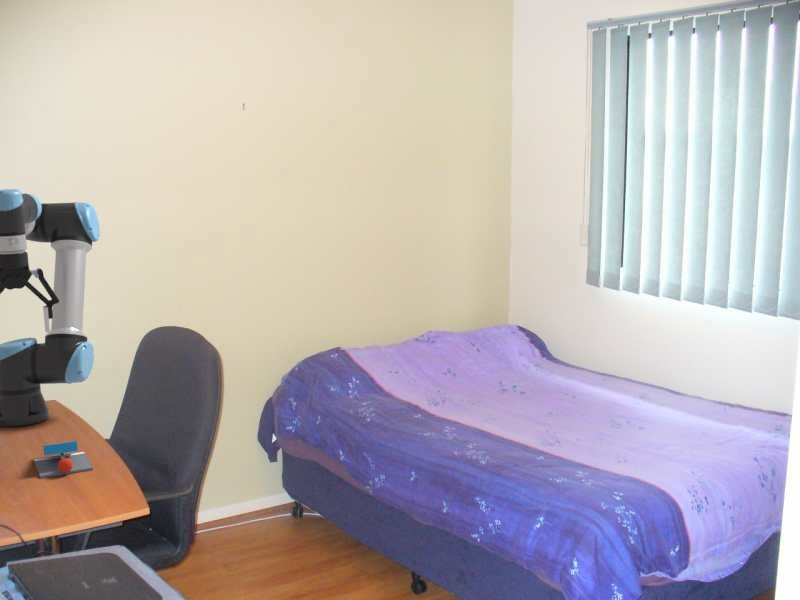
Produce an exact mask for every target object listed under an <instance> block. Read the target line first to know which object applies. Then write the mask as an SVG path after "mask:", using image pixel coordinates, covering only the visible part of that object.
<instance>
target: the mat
mask: <svg viewBox="0 0 800 600" xmlns="http://www.w3.org/2000/svg"><path fill="white" fill-rule="evenodd" d="M64 457H65V458H68V459H70V460H71V461H72V463H73V467H72V469H71V470H70V471H69V472H61V471H60V470H59V469H58V463H59V461H60V460H61V459H62V458H61V455H60V454H59V455H55V456H54V455H53V456H49V457H48V456H47V457H41V458H36V459H33V463H34V465H35V468H36V471H37V473H38V475H39V478H40V479H43V478H52V477H56V476H63V475H70V474H75V473H82V472H89V471H93V470H94V469H93V466H92V464H91V462H90V461H89V459H88V456H87V455H86V453H85V452H84V451H81V452H74V453H73V452H72V453H66V454H64Z"/></svg>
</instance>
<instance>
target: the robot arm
mask: <svg viewBox="0 0 800 600" xmlns="http://www.w3.org/2000/svg"><path fill="white" fill-rule="evenodd" d="M100 231H101V230H100V223H99V219H98V214H97V212H96V210H95V207H94V206H93V205H92V204H91V203H88V202H78V201H75V202H55V203H53V202H51V203H46V202H45V203H42V202H41V201H40V199H39V198H38V197H36V196H35V195H34V194H32V193H22V191H21V190H20V189H16V188H15V189H14V188H10V189H9V188H7V189H5V188H4V189H0V295H1V294H2V293H4V291H5V289H7V290H8V291H9V290H14V289H18V290H19V289H23V288H25V287H26V288H27V289H28V290H30V292H31V293H33V294H34V295H35V296H36V297H37V298H38V299H39V300H41V302H43V304H44V305H43V306H42V311H43V320H44V331H45V333H46V334H45V336H44V343H43V342H42V343H38V340H37V338H35V337H25V338H19V339H14V340H10V341H7V342H3V343H0V427H20V426H22V427H23V426H29V425H34V424H38V423H42V422H44V421H46V420H48V419H49V418H50V409H49V407H48V404H47V402H46V400H45V398H44V396H43V393H42V390H41V389H42V388H41V385H47V384H48V385H50V384H51V385H52V384H55V385H56V384H69V385H70V384H75V383H76V384H77V383H83V382H85V381H86V380H87V379H89V376H90V375H91V373H92V369H93V366H94V358H95V353H94V345H93V344H92V343H91V342H89V341H88V336H87V335H86V334H85V333H84V332H83V325H84V323H83V321H84V304H85V302H84V301H85V289H86V288H85V287H86V285H85V283H86V263H87V254H88V253H89V252H91V250H92V248H93V243H96V242H98V241H99V240H100V236H101V235H100V234H101V233H100ZM27 241H30V242H36V243H45V244H46V243H50V247H51V248H52V249H53V250H54V252H55V260H54V275H53V277H54V278H53V288H52V287H51V286H50V284H49V283H48V281H47V279H46V278H45V276H44V271H43V269H42V268H41V267H37V268H36V269H31V270H30V266H29V253H28V252H27V249H28V245H27ZM32 276H34V277H35V278H36V279H38V280H39V282H40V283H41V285H42V286H43V288H44V290H45V291H46V294H48V295H49V297H50V298H51V299H48V298H47V297H46V296H45V295H44V294H43V293H41V292H40V291H39V290H38V289H37V287H35V286H33V285H32V283H30V282H29V280H30V279H31V277H32ZM50 319H51V325H50ZM50 326H51V327H50Z"/></svg>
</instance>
